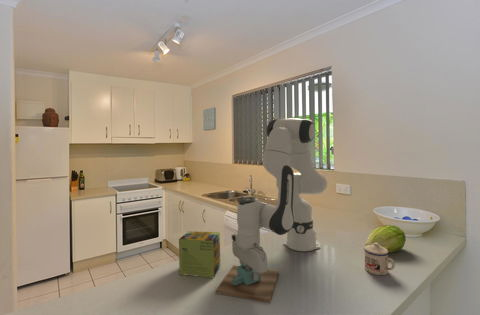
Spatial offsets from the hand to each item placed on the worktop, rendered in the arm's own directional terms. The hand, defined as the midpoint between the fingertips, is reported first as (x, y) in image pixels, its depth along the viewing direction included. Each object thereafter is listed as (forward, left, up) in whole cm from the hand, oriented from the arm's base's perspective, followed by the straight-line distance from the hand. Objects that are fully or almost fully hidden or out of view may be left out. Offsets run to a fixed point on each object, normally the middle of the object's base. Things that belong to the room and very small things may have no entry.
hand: (249, 274), depth 98 cm
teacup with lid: (-23, +50, -4) cm, 55 cm away
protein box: (-4, -23, -4) cm, 24 cm away
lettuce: (-47, +57, -4) cm, 74 cm away
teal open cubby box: (+2, -1, -2) cm, 3 cm away
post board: (0, 0, -3) cm, 3 cm away
